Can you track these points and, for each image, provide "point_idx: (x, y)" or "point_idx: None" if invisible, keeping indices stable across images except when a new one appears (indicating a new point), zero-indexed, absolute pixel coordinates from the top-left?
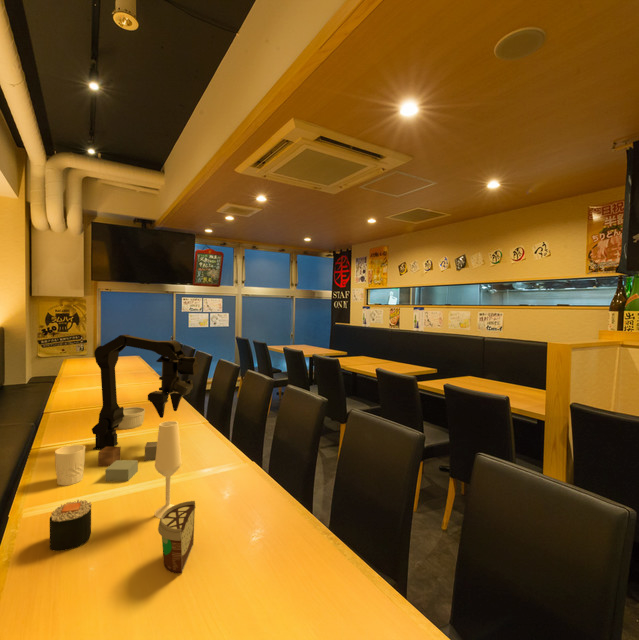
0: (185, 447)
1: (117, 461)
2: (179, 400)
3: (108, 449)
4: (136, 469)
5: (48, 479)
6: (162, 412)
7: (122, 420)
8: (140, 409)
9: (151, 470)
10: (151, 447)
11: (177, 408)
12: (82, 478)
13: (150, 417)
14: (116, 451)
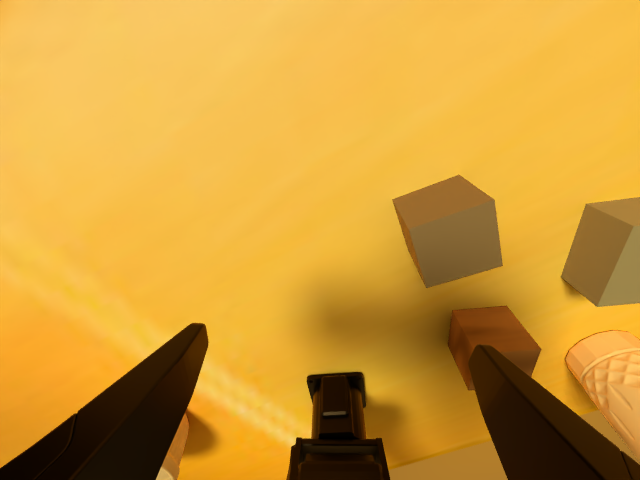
0: (288, 117)
1: (616, 297)
2: (58, 461)
3: None
4: (615, 207)
5: (570, 392)
6: (565, 407)
7: (177, 448)
8: None
9: (595, 148)
10: (496, 237)
11: (172, 339)
12: (604, 333)
13: (43, 399)
14: (508, 344)
